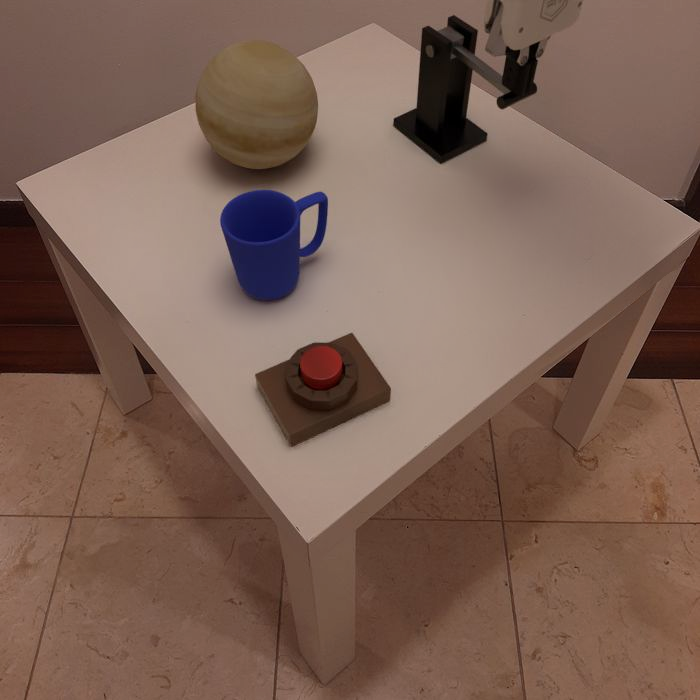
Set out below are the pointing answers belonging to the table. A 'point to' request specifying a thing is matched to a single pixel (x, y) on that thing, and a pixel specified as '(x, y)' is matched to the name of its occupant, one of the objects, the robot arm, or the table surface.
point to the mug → (269, 239)
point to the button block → (322, 391)
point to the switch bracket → (443, 97)
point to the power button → (321, 367)
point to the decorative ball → (256, 104)
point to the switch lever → (482, 69)
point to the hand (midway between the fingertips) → (516, 88)
